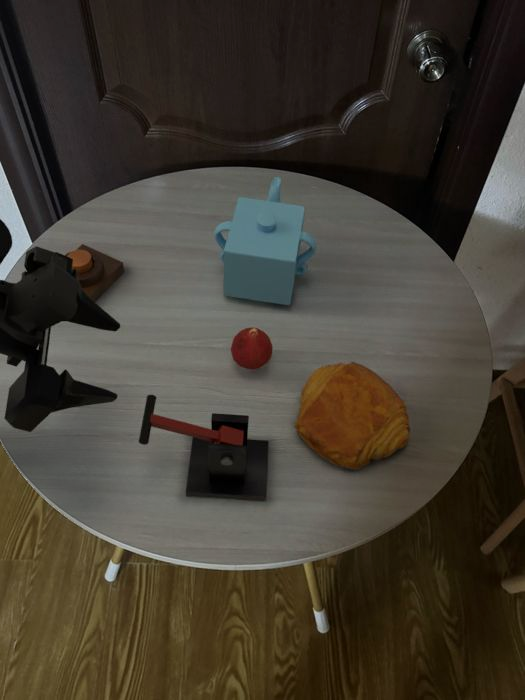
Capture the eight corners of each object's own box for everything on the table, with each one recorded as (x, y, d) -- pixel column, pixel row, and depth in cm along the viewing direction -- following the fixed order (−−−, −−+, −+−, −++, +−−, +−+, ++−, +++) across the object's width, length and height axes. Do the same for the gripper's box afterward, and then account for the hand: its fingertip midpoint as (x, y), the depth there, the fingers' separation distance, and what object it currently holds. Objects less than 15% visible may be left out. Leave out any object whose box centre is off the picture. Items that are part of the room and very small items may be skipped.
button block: (85, 312, 94) (80, 295, 91) (44, 292, 96) (38, 274, 93) (124, 271, 100) (121, 254, 96) (84, 253, 102) (80, 235, 98)
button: (82, 277, 94) (80, 269, 92) (64, 268, 95) (61, 260, 93) (97, 263, 96) (95, 254, 94) (79, 254, 97) (76, 246, 95)
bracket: (186, 496, 77) (181, 461, 70) (193, 439, 82) (189, 400, 74) (265, 501, 78) (270, 466, 70) (268, 444, 82) (272, 406, 74)
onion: (236, 383, 88) (237, 350, 81) (226, 352, 91) (226, 317, 85) (275, 376, 89) (279, 342, 83) (264, 345, 92) (267, 310, 86)
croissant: (342, 371, 93) (347, 333, 87) (424, 435, 84) (435, 398, 78) (270, 423, 86) (269, 385, 80) (351, 497, 78) (356, 461, 72)
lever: (135, 445, 69) (141, 436, 67) (144, 400, 73) (150, 390, 71) (233, 469, 73) (241, 461, 71) (237, 425, 77) (245, 416, 75)
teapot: (305, 314, 96) (315, 255, 86) (207, 299, 97) (205, 238, 87) (317, 236, 107) (327, 175, 97) (229, 223, 108) (229, 161, 97)
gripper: (-15, 349, 47) (158, 402, 56) (16, 189, 58) (157, 255, 67) (-64, 412, 54) (98, 451, 63) (-28, 258, 65) (106, 310, 74)
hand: (117, 361), depth 66 cm, fingers open, 9 cm apart
